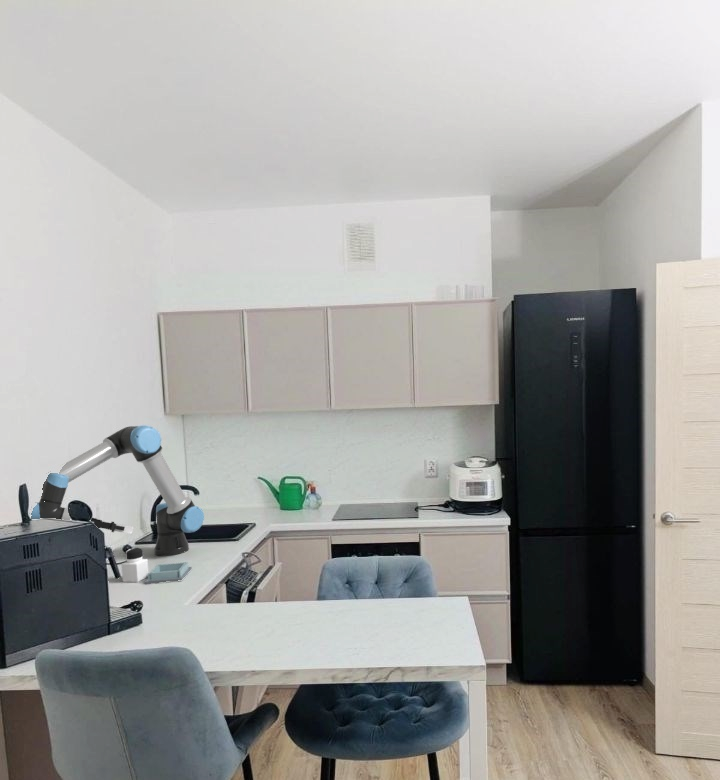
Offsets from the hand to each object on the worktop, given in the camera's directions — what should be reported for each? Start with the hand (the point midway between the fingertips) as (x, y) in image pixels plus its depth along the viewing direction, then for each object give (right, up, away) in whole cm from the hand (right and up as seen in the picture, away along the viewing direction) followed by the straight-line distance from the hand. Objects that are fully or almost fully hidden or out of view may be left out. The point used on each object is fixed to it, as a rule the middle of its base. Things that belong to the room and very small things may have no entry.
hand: (131, 530), depth 234 cm
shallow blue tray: (+15, -19, 0) cm, 24 cm away
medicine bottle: (+2, -20, 0) cm, 20 cm away
